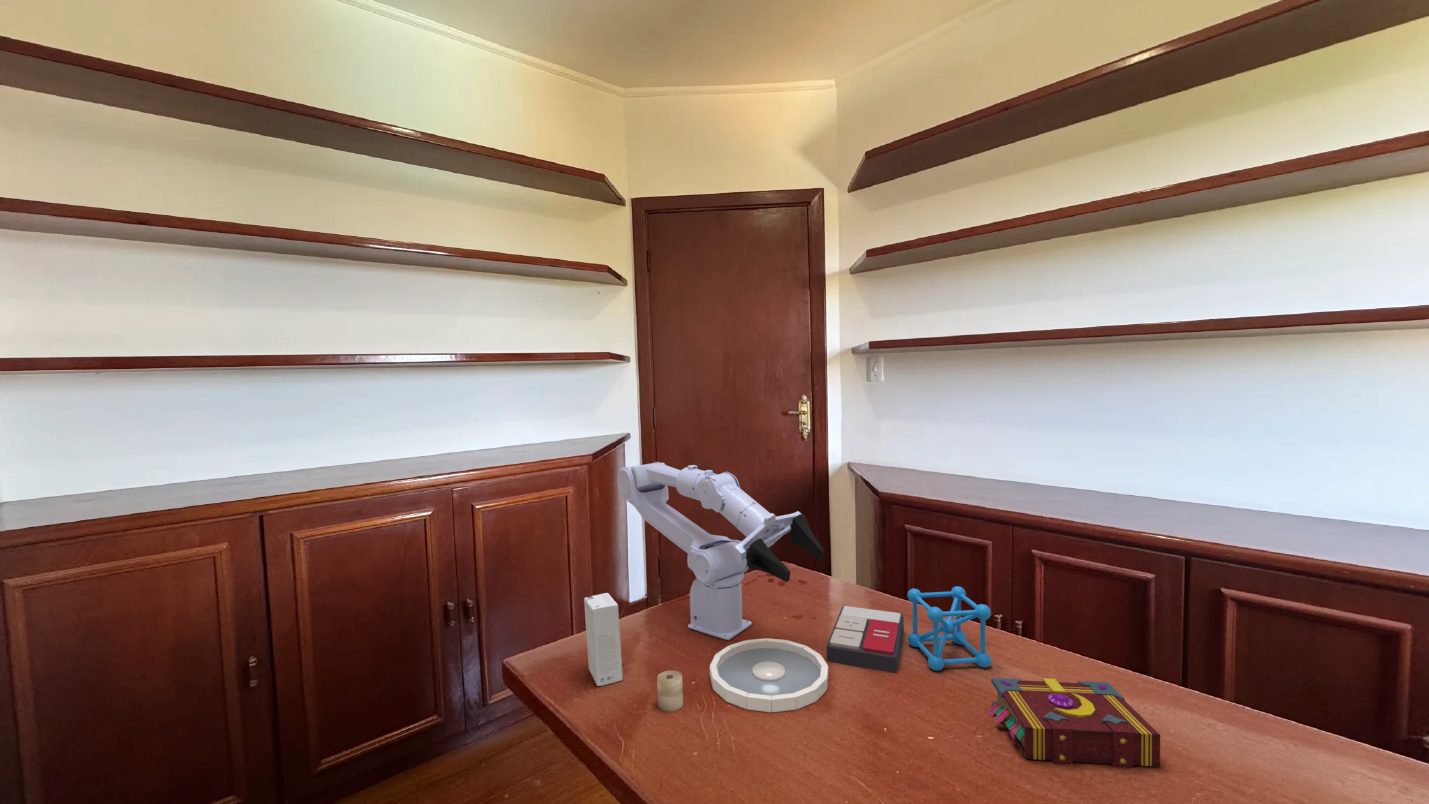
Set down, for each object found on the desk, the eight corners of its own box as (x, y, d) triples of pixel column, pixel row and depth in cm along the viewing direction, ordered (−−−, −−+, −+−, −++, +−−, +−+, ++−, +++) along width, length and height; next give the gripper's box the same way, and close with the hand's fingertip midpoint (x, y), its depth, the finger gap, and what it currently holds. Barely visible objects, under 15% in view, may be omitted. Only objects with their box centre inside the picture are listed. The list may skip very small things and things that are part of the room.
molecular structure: (994, 670, 87) (994, 607, 87) (932, 674, 87) (931, 610, 86) (962, 640, 97) (961, 583, 97) (906, 643, 97) (905, 586, 96)
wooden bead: (652, 706, 80) (651, 678, 80) (669, 694, 83) (668, 667, 83) (671, 714, 78) (670, 686, 78) (688, 702, 81) (687, 674, 81)
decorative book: (1163, 772, 65) (1163, 730, 64) (1015, 763, 67) (1015, 723, 67) (1107, 713, 76) (1107, 678, 76) (982, 707, 78) (982, 672, 78)
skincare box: (623, 680, 87) (621, 604, 87) (595, 688, 85) (592, 610, 85) (613, 663, 93) (610, 591, 92) (586, 669, 91) (583, 596, 90)
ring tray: (687, 685, 85) (686, 674, 85) (751, 639, 100) (751, 629, 99) (791, 727, 74) (791, 714, 74) (846, 668, 89) (846, 657, 89)
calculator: (825, 641, 91) (842, 602, 105) (826, 666, 92) (842, 624, 105) (896, 653, 87) (903, 610, 101) (896, 679, 87) (904, 632, 101)
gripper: (717, 517, 92) (774, 569, 83) (782, 484, 99) (840, 528, 90) (716, 548, 95) (770, 601, 86) (778, 514, 103) (834, 559, 94)
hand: (805, 566), depth 89 cm, fingers open, 7 cm apart
